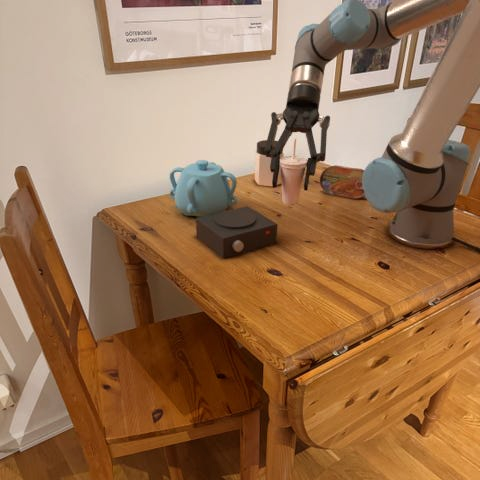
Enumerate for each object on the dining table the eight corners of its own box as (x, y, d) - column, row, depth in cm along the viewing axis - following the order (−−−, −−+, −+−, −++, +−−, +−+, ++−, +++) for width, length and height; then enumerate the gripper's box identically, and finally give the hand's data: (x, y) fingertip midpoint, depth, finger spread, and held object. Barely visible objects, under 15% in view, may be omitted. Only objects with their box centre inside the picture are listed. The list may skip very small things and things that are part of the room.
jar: (267, 188, 138) (269, 149, 131) (249, 182, 143) (250, 143, 136) (286, 182, 143) (289, 143, 136) (268, 176, 148) (270, 138, 141)
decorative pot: (242, 218, 120) (243, 167, 112) (184, 226, 115) (181, 174, 107) (221, 197, 132) (220, 150, 124) (168, 204, 127) (164, 155, 119)
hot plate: (279, 245, 107) (280, 223, 104) (226, 260, 100) (225, 238, 97) (247, 224, 117) (247, 203, 113) (196, 237, 110) (195, 215, 107)
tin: (317, 192, 136) (321, 164, 131) (321, 189, 138) (324, 161, 133) (366, 201, 131) (371, 172, 126) (369, 198, 133) (374, 169, 128)
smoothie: (301, 196, 108) (307, 136, 100) (305, 206, 103) (312, 144, 95) (275, 196, 108) (279, 136, 100) (278, 206, 103) (282, 143, 95)
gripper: (345, 106, 105) (332, 197, 102) (264, 101, 108) (249, 189, 105) (348, 84, 98) (334, 182, 95) (261, 80, 101) (245, 174, 98)
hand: (289, 186), depth 100 cm, fingers closed on smoothie, 6 cm apart
